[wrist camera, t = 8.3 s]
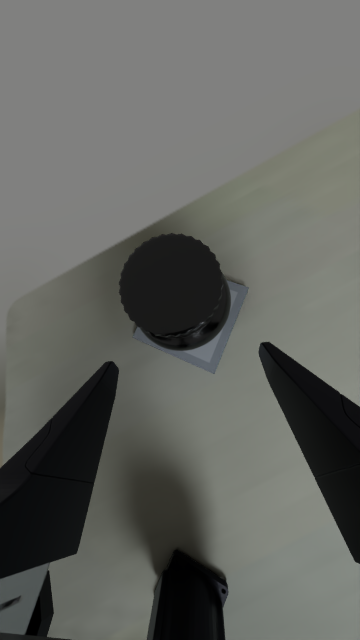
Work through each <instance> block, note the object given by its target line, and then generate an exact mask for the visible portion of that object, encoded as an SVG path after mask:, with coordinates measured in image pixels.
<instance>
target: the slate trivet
mask: <svg viewBox="0 0 360 640" xmlns="http://www.w3.org/2000/svg"><path fill="white" fill-rule="evenodd" d="M227 283H228V285H229V289H230V294H231V308H230V313H229V316H228V319H227V321H226V323H225V325H224V327H223V328H222V330H221V331H220V333H219V334H218V335H217V336H216V337H215V338H214V339H212V340H211V341H210V342H208V343H207V344H205V345H203V346H201V347H199V348H196V349H193V350H187V351H174V350H169V349H165V348H163V347H160V346H158V345H157V344H155V343H153V342H152V341H151V340H149V339H148V338H147V337H146V336H145V335H144V334H143V332H142V331H141V329H140V328H139V327H137V328H136V331H135V333H134V335H133V338H135V339H137V340H139V341H142V342H144V343H146V344H148V345H150V346H153V347H155V348H157V349H159V350H162V351H164V352H166V353H168V354H171V355H173V356H175V357H177V358H180V359H182V360H184V361H186V362H188V363H191V364H193V365H195V366H197V367H200V368H202V369H204V370H206V371H209V372H211V373H213V374H214V373H215V371H216V368H217V366H218V364H219V361H220V359H221V356H222V354H223V351H224V349H225V346H226V344H227V341H228V339H229V336H230V334H231V331H232V329H233V326H234V324H235V321H236V319H237V316H238V314H239V311H240V309H241V306H242V304H243V301H244V299H245V296H246V294H247V291H248V289H249V288H248V287H246V286H243V285H240V284H237V283H234V282H231V281H228V280H227Z"/></svg>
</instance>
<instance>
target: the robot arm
mask: <svg viewBox="0 0 360 640" xmlns="http://www.w3.org/2000/svg"><path fill="white" fill-rule="evenodd" d="M259 357H260V360H261V362H262V365H263V368H264V371H265V374H266V377H267V379H268V382H269V384H270V386H271V388H272V390H273V392H274V394H275V397H276V399H277V401H278V403H279V405H280V407H281V409H282V411H283V413H284V415H285V417H286V419H287V421H288V424H289V426H290V428H291V430H292V432H293V434H294V436H295V438H296V440H297V442H298V444H299V446H300V448H301V451H302V453H303V455H304V457H305V459H306V461H307V463H308V465H309V467H310V469H311V471H312V473H313V475H314V477H315V480H316V482H317V484H318V486H319V488H320V490H321V492H322V494H323V496H324V499H325V501H326V503H327V505H328V507H329V509H330V511H331V513H332V515H333V517H334V519H335V521H336V524H337V526H338V528H339V530H340V532H341V534H342V536H343V538H344V540H345V542H346V544H347V546H348V548H349V551H350V553H351V555H352V556H353V558H354V560H355V562H357V563H359V564H360V407H359V406H358V405H356V404H355V403H353V402H352V401H351V400H349V399H348V398H346V397H345V396H344V395H342V394H340V393H339V392H338V391H337V390H335V389H334V388H332V387H331V386H330V385H328V384H327V383H326V382H324V381H323V380H321V379H320V378H319V377H317V376H316V375H314V374H313V373H312V372H310V371H309V370H307V369H306V368H305V367H303V366H302V365H300V364H299V363H298V362H296V361H295V360H294V359H292V358H291V357H289V356H288V355H287V354H285V353H284V352H282V351H281V350H280V349H278V348H277V347H275V346H274V345H273V344H271V343H270V342H262V343H261V344H260V347H259ZM118 374H119V369H118V367H117V366H116V365H115V363H114V362H113V361H108V362H105V363H104V364H103V365H102V366H101V367H100V368H99V369H98V370H97V371H96V373H95V374H94V375H93V376H92V377H91V378H90V379H89V380H88V381H87V382H86V383H85V384H84V385H83V386H82V387H81V388H80V389H79V390H78V391H77V392H76V393H75V394H74V395H73V396H72V397H71V399H70V400H69V401H68V402H67V403H66V404H65V405H64V406H63V407H62V408H61V409H60V410H59V411H58V412H57V413H56V414H55V415H54V416H53V418H51V419H50V420H49V421H48V422H47V423H46V424H45V426H44V427H43V428H42V429H41V430H40V431H39V432H38V433H37V434H36V435H35V436H34V437H33V438H32V439H31V440H29V441H28V442H27V443H26V444H25V445H24V446H23V447H22V448H21V449H20V450H19V451H18V452H17V453H16V454H15V455H14V456H13V457H12V458H11V459H9V460H8V461H7V462H6V463H5V464H4V465H3V466H2V467H1V468H0V640H70V639H60V638H51V637H47V634H48V631H49V627H50V624H51V621H52V617H53V614H54V610H53V601H52V592H51V583H50V574H49V570H48V568H49V565H50V562H53V561H56V560H59V559H62V558H65V557H68V556H71V555H74V554H76V553H77V551H78V548H79V544H80V540H81V536H82V531H83V527H84V523H85V519H86V515H87V511H88V507H89V503H90V499H91V494H92V490H93V486H94V482H95V478H96V474H97V469H98V465H99V461H100V457H101V453H102V449H103V445H104V441H105V436H106V432H107V428H108V424H109V420H110V416H111V412H112V408H113V404H114V399H115V395H116V389H117V381H118ZM227 596H228V585H227V582H226V581H225V580H223V579H222V578H220V577H219V576H217V575H215V574H214V573H212V572H211V571H209V570H208V569H206V568H205V567H203V566H202V565H200V564H199V563H197V562H195V561H194V560H192V559H191V558H189V557H188V556H186V555H185V554H183V553H182V552H180V551H178V550H175V551H174V552H173V554H172V556H171V559H170V561H169V564H168V566H167V569H165V570H164V571H163V572H162V575H161V577H160V580H159V582H158V585H157V587H156V590H155V594H154V600H153V606H152V611H151V617H150V623H149V629H148V635H147V640H225V629H224V617H223V606H224V603H225V601H226V598H227Z"/></svg>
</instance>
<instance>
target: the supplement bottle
mask: <svg viewBox="0 0 360 640" xmlns="http://www.w3.org/2000/svg"><path fill="white" fill-rule="evenodd" d="M119 285H120V290H119V293H120V295H121V303H122V304H123V305H124V310H125V312H126V313H128V315H129V318H130V320H132V321H134V322H135V324H136V326H137V327H139V328H140V329H141V331H142V332H143V334H144V335H145V336H146V337H147V338H148V339H149V340H151V341H152V342H153V343H155V344H157V345H158V346H160V347H163V348H165V349H169V350H174V351H187V350H193V349H196V348H199V347H201V346H203V345H205V344H207V343H208V342H210V341H211V340H212V339H214V338H215V337H216V336H217V335H218V334H219V333H220V331H221V330H222V328H223V327H224V325H225V323H226V321H227V319H228V316H229V313H230V308H231V294H230V289H229V285H228V283H227V280H226V278H225V277H224V275H223V273H222V272H221V270H220V264H219V262H218V261H217V260H216V257H215V254H214V253H212V252H211V251H210V249H209V247H208V246H206V245H203V243H202V242H201V241H200V240H195V239H194V238H193V237H192V236H185V235H183V234H178V235H176V234H173V233H171V234H168V235H164V234H162V235H160V236H158V237H152V238H151V239H150V240H149V241H146V242H143V244H142V245H141V246H140V247H138V248H136V249H135V251H134V253H132V254H131V255H130V256H129V259H128V261H127V262H126V263H125V264H124V269H123V271H122V272H121V279H120V282H119Z"/></svg>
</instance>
